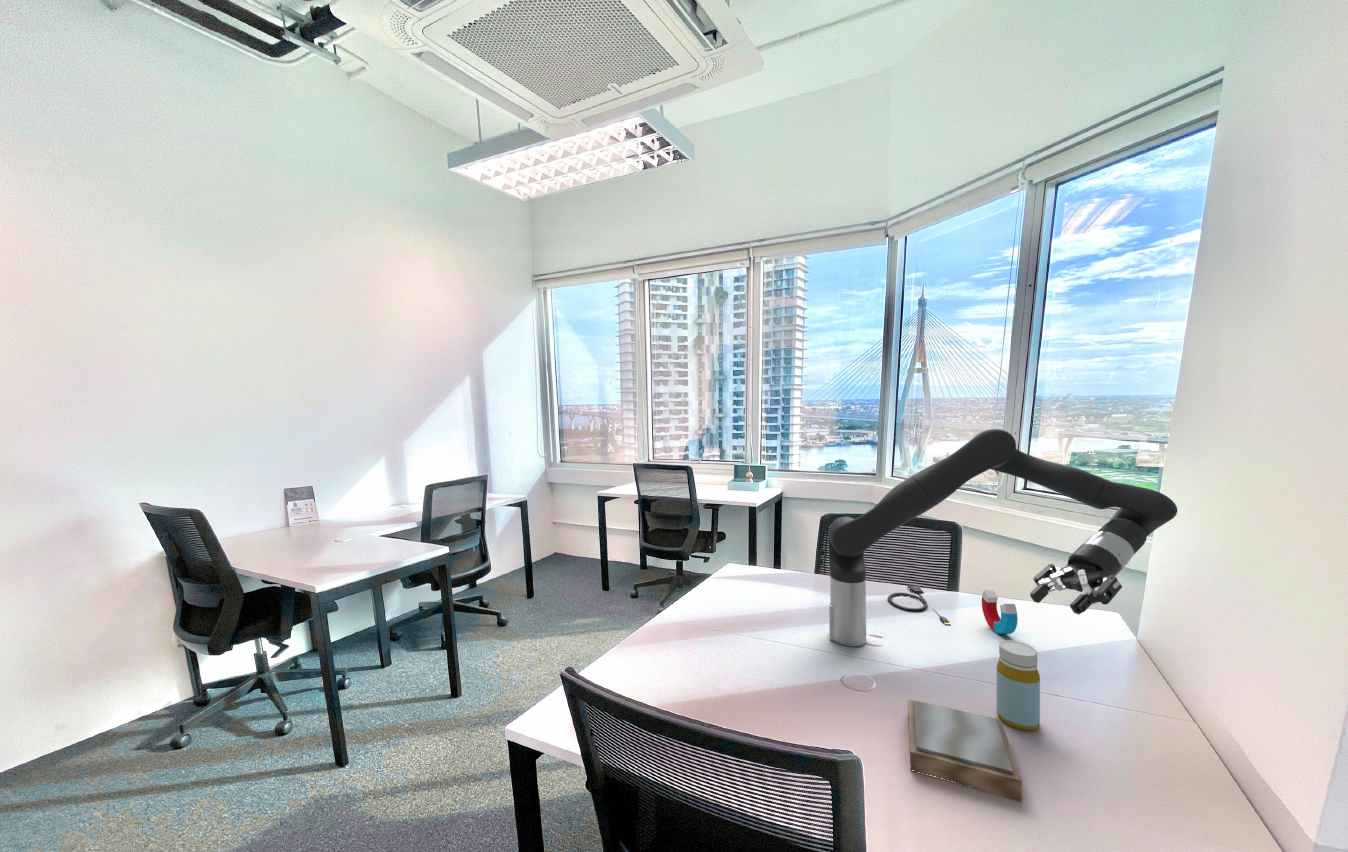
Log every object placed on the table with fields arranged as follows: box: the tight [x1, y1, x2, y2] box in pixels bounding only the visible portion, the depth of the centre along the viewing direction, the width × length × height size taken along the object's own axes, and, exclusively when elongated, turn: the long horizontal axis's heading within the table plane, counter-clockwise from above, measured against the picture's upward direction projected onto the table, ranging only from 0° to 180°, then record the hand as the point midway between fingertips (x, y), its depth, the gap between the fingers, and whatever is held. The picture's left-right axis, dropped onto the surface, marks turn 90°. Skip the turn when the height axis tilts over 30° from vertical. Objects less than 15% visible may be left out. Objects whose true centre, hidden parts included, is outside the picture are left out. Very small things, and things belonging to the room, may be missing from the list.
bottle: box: [996, 639, 1041, 732], centre depth 94 cm, size 7×7×15 cm
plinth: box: [907, 699, 1023, 803], centre depth 86 cm, size 16×16×4 cm
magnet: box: [981, 589, 1019, 635], centre depth 130 cm, size 12×3×10 cm, turn 176°
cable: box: [887, 585, 952, 626], centre depth 150 cm, size 14×28×2 cm, turn 169°
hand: (1053, 604), depth 96 cm, fingers open, 8 cm apart
